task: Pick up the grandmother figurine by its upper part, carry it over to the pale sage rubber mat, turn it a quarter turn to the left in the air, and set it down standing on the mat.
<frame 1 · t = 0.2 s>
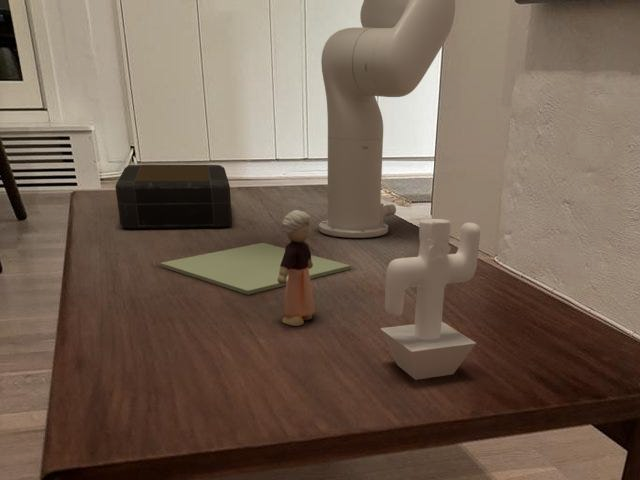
grandmother figurine: (299, 320, 90), on the table
mat: (256, 268, 110), on the table
figurine: (424, 371, 77), on the table
cash box: (176, 217, 143), on the table
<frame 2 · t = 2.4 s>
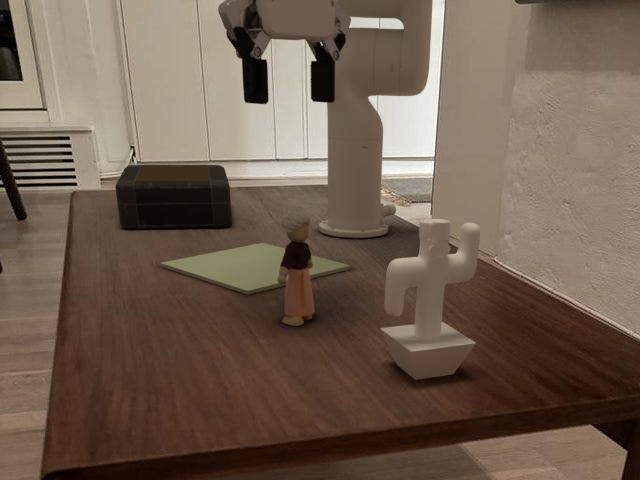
hand: (290, 102, 80), 23 cm above the table, tool pointing down, fingers open, 9 cm apart
nothing on the table moved.
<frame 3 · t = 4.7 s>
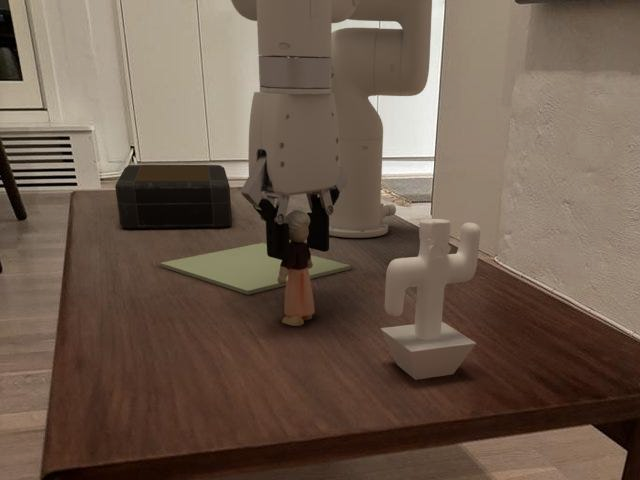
hand: (298, 252, 86), 8 cm above the table, tool pointing down, fingers closed on grandmother figurine, 5 cm apart
grandmother figurine: (299, 320, 90), on the table, touching gripper
everything else where it was.
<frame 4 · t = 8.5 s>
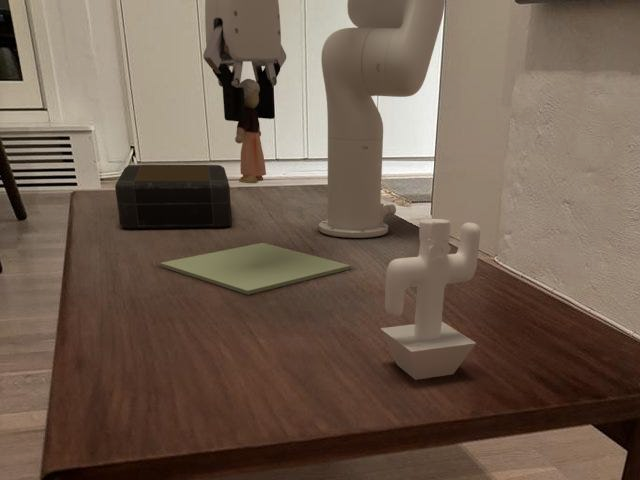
hand: (250, 118, 100), 20 cm above the table, tool pointing down, fingers closed on grandmother figurine, 5 cm apart
grandmother figurine: (252, 182, 104), point 12 cm above the table, touching gripper
everything else where it was.
when the fingers open (9 cm above the table, at t = 12.5 s): grandmother figurine stays where it is, resting on mat.
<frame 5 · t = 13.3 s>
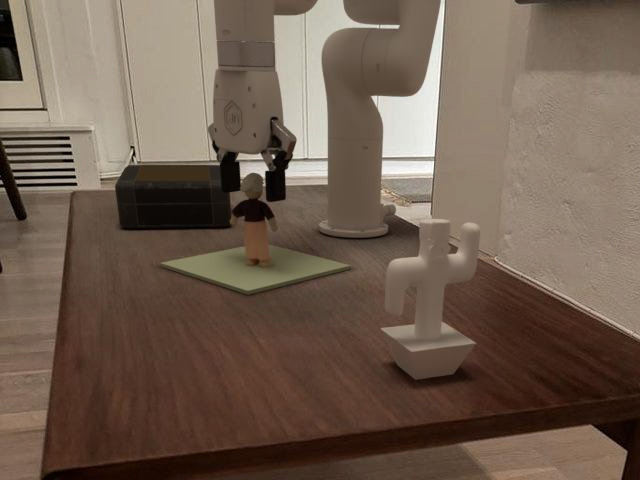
hand: (253, 196, 105), 10 cm above the table, tool pointing down, fingers open, 9 cm apart
grandmother figurine: (256, 265, 110), resting on mat
everything else where it was.
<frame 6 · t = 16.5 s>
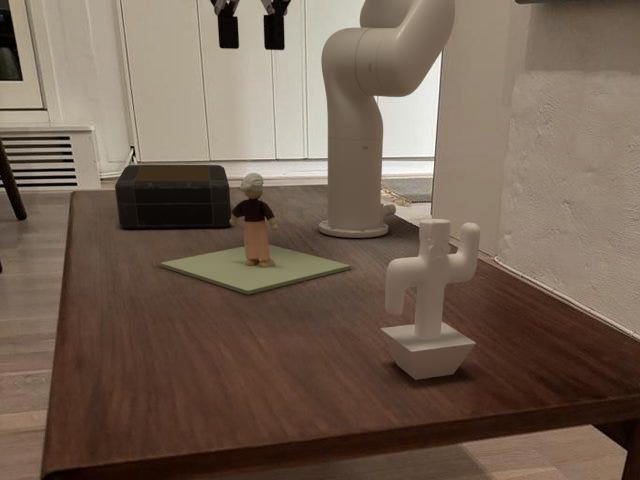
hand: (251, 49, 103), 28 cm above the table, tool pointing down, fingers open, 9 cm apart
nothing on the table moved.
at the end: grandmother figurine inside the target area on the mat (0.1 cm from its centre), point 0.4 cm above the mat's base; grandmother figurine tilted 0°; the gripper is holding nothing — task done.
